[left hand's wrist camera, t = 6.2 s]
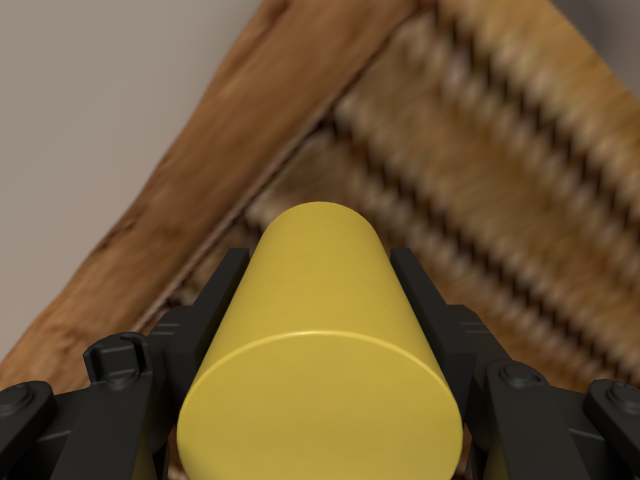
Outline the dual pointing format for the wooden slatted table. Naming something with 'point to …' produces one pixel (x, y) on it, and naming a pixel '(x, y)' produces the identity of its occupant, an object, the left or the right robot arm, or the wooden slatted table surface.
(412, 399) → the cylinder
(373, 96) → the wooden slatted table surface
